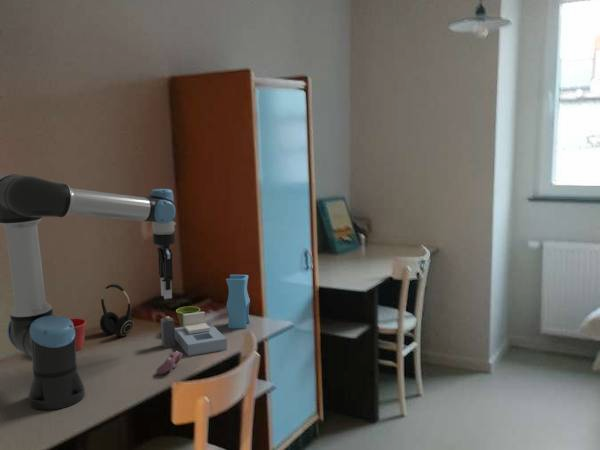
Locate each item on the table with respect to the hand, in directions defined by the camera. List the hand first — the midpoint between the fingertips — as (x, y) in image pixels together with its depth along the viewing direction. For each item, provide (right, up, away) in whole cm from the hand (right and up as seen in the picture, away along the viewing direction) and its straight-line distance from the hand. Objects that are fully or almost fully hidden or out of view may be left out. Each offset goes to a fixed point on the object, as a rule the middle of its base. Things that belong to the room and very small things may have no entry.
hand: (166, 296), depth 209 cm
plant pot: (+4, -16, +19) cm, 25 cm away
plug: (0, -18, +3) cm, 19 cm away
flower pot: (-34, -19, +1) cm, 39 cm away
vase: (+23, -15, +26) cm, 38 cm away
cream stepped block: (+9, -13, +8) cm, 18 cm away
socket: (+11, -18, +5) cm, 22 cm away
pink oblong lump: (+6, -22, -19) cm, 29 cm away
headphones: (-23, -17, +15) cm, 32 cm away
